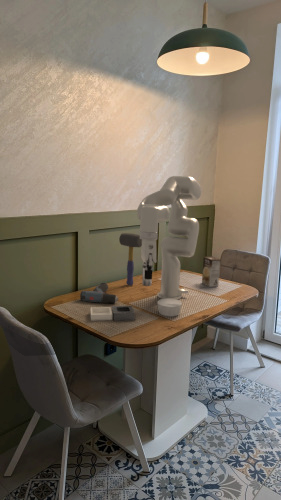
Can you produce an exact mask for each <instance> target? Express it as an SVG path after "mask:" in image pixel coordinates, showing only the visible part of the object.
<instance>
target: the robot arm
mask: <svg viewBox="0 0 281 500" xmlns="http://www.w3.org/2000/svg"><path fill="white" fill-rule="evenodd" d="M201 195H202V187H201V185H200V183H199V182H198V180H196V178H194V177H192V176H186V175H183V176H182V175H173V176H169V177H168V178H167V179H166V181H165V183H164V184H163V185H162V186H161V188H160V189H159V190H158V191H154V192H153V193H151V194H149V195H147V196H145V197H144V198H143V199H142V200H141V202H140V203H139V205H138V207H137V210H136V216H137V219H139V220H140V221H139V222H140V223H139V224H140V226H139V235H140V239H142V246H141V247H140V248H141V249H140V250H141V251H140V255H141V256H140V257H141V260H142V265H143V264H144V263H145V264H146V270H145V276H144V278H145V279H152V280H153V266H152V265H153V264H156V263H157V240H158V237H159V236H158V235H159V223H164V222H167V221H168V220H169V221H168V225H167V232H168V234H170V235H172V236H170V235H169V236H165V237H163V238H162V240H161V242H160V249H161V274H160V275H161V276H160V277H161V278H160V291H159V292H157V295H156V296H157V297H158V299H164V298H170V299H176V300H180V299H182V295H183V294H185V295H186V294H187V295H188V294H189V290H188V289H185V288H182V289H181V288H180V283H181V282H180V280H181V279H180V278H181V277H180V276H181V262H180V260H179V258H178V257H184V258H192V257H194V256H195V253H196V248H197V242H198V238H199V237H198V236H199V234H200V233H199V232H200V223H199V221H198V219H196V218H194V217H187V216H188V211H189V210H188V207H187V205H186V203H185V202H184V201H183V200H190V201H191V200H192V201H194V200H195V201H196V200H199V199H200V197H201ZM168 206H171V208H169V207H168ZM170 209H171V210H170ZM173 235H174V236H173ZM180 236H181V237H180ZM147 264H149V265H148V266H147ZM141 276H142V277H143V270H142V274H141Z"/></svg>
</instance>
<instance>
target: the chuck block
mask: <svg viewBox="0 0 281 500" xmlns="http://www.w3.org/2000/svg"><path fill="white" fill-rule="evenodd" d="M111 310H112V321H114V322H118V321H119V322H121V321H124V322H126V321H135V319H136V316H135V315H136V312H135V309H134V308H133V305H112V306H111Z"/></svg>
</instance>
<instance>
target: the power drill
mask: <svg viewBox="0 0 281 500" xmlns="http://www.w3.org/2000/svg"><path fill="white" fill-rule="evenodd" d="M108 290H109V285H108V284H107V283H106V282H101V283H100V284H98V285H96V286H95V288H93V290H82V291H81V292H80V294H79V295H80V297H79V300H80V301H81V300H82V301H83V302H89V301H90V302H91V303H98V302H99V304H100V303H101V304H116V303H117V302H118V301H119V296H117V295H116V294H113V293H107V291H108ZM90 302H89V303H90Z"/></svg>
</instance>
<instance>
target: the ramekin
mask: <svg viewBox="0 0 281 500" xmlns="http://www.w3.org/2000/svg"><path fill="white" fill-rule="evenodd" d="M156 302H157V303H156V304H157V310H158V312H159V314H160V315H162V316H164V317H177V316H179V315H180V312H181V308H182V304H183V303H182V301H181V300H180V299H178V300H176V299H170V298H164V299H161V298H159V300H157V301H156Z"/></svg>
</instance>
